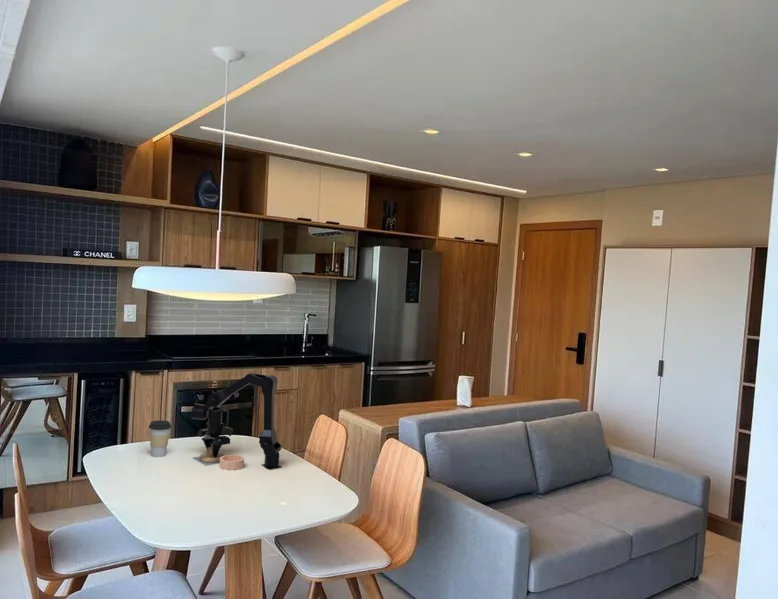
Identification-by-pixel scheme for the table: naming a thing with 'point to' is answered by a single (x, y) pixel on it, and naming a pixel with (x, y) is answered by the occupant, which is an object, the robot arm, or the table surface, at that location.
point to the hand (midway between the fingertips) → (212, 455)
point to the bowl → (231, 462)
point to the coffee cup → (159, 437)
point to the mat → (203, 462)
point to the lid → (210, 457)
